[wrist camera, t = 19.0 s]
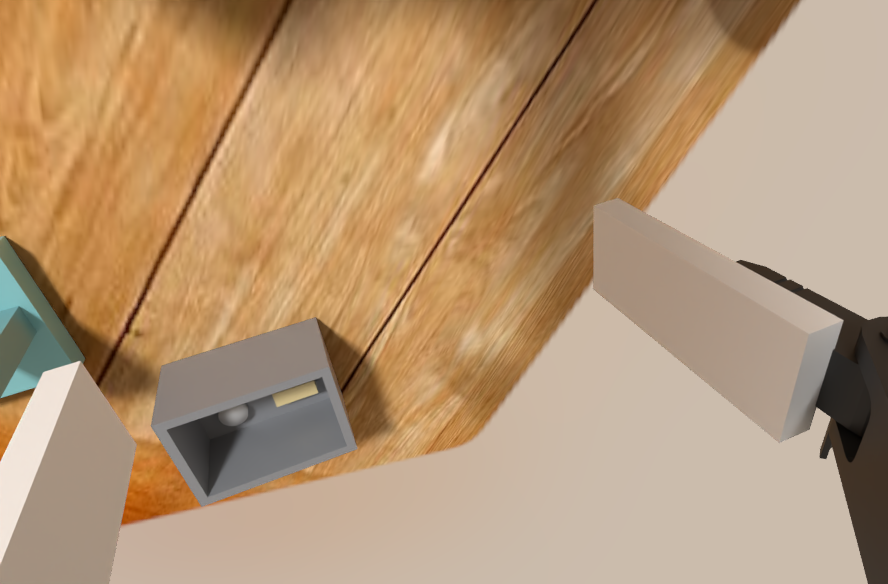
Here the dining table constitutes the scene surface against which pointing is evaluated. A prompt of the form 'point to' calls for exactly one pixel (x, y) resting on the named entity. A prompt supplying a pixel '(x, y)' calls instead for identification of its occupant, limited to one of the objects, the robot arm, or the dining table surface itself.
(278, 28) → the dining table surface
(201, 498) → the tub
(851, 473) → the robot arm
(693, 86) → the dining table surface
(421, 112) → the dining table surface
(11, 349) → the lid
